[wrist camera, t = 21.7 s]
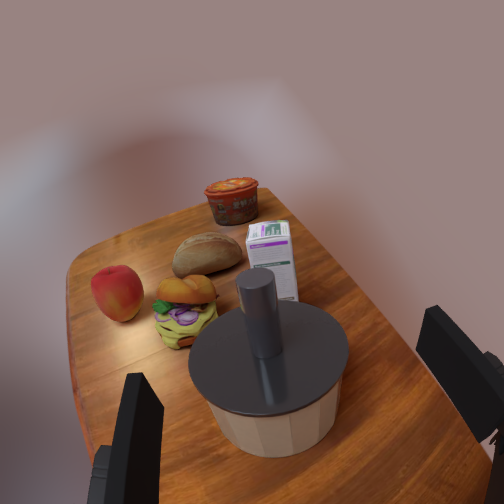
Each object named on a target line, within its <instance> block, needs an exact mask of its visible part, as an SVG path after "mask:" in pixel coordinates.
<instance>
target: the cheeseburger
mask: <svg viewBox="0 0 504 504" xmlns="http://www.w3.org/2000/svg"><path fill="white" fill-rule="evenodd" d="M156 297H157V298H158V299H159V300H156V302H157V303H153V306H152V308H154V311H155V319H156V323H155V328H156V330H157V331H158V332H159V334H160V336H161V338H162V340H163V342H164V344H165V345H167V346H169V347H170V348H172V349H179V348H180V347H179V346H181V347H182V346H186V345H191V344H193V343H194V341H195V339H196V338H197V336H198V335H199V334H200V332H201V331H202V330H203V329H204V328H205V327H206V326H207V325H208V324H209V323H211V322H212V321H213V320H215V319H216V318H218V314H217V311H216V303H215V300H217V299H218V298H219V297H220V295H219V294H218V295H216V290H215V287H214V285H213V283H212V282H211V280H210V279H209V278H207V277H205V276H203V275H190V276H187V277H185V278H184V279H180V278H174V277H172V278H166V279H165V280H163V281H162V282H161V283H160V285H159V287H158V289H157V293H156Z"/></svg>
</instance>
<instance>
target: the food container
mask: <svg viewBox="0 0 504 504" xmlns="http://www.w3.org/2000/svg"><path fill="white" fill-rule="evenodd" d="M257 186H258V182H257V181H256V180H255V179H252V178H248V177H247V178H246V177H243V178H232V179H227V180H226V181H219V182H216V183H213V184H211V186H208V187H207V188H206V190H205V191H204V194H205V195H206V196H207V198H208V201H209V204H210V207H211V209H212V212H213V215H214V218H215V221H216V223H217V224H219V225H223V226H224V225H225V226H229V225H237V224H242V223H245V222H248V221H250V220H253V219H254V218H255V217H256V216H257V215H258V204H257Z"/></svg>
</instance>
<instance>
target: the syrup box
mask: <svg viewBox="0 0 504 504" xmlns="http://www.w3.org/2000/svg"><path fill="white" fill-rule="evenodd" d="M246 246H247V251H248V256H249V261H250V266H251V268H258V267H261V268H267V269H270V270H272V271H273V273H274V274H275V281H276V289H277V296H278V300H289V301H297V302H299V301H298V290H297V279H296V269H295V262H294V255H293V248H292V242H291V235H290V229H289V222H288V220H275V221H267V222H261V223H256V224H252V225H249V230H248V233H247V239H246Z"/></svg>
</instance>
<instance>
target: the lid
mask: <svg viewBox="0 0 504 504" xmlns="http://www.w3.org/2000/svg"><path fill="white" fill-rule="evenodd" d="M235 282H236V287H237V291H238V296H239V301H240V305H241V307H238V308H235V309H233V310H230V311H228V312H226V313H224V314H223V315H221V316H219V317H218V318H216V319H215V320H213V321H212V322H211V323H209V324H208V325H207V326H206V327H205V328H204V329H203V330H202V331H201V332H200V334H199V335H198V336H197V338H196V339H195V341H194V343H193V345H192V347H191V350H190V353H189V360H188V367H189V373H190V377H191V379H192V381H193V383H194V385H195V387H196V389H197V390H198V391H199V393H200V394H201V395H202V396H203V397H204V398H205V399H206V400H207V401H209V402H210V403H211V404H213V405H214V406H216V407H218V408H220V409H222V410H224V411H227V412H229V413H232V414H236V415H240V416H245V417H255V418H266V417H276V416H282V415H287V414H290V413H294V412H297V411H299V410H302V409H304V408H306V407H308V406H310V405H312V404H314V403H315V402H317V401H319V400H320V399H321V398H323V397H324V396H325V395H326V394H328V393H329V392H330V391H331V390H332V389H333V388H334V387H335V385H336V384H337V383H338V381H339V380H340V378H341V377H342V375H343V373H344V371H345V368H346V365H347V362H348V354H349V346H348V340H347V336H346V334H345V332H344V330H343V328H342V327H341V325H340V324H339V323H338V322H337V321H336V319H335V318H333V317H332V316H331V315H330V314H328V313H327V312H325V311H323V310H322V309H320V308H317V307H315V306H312V305H309V304H306V303H302V302H297V301H289V300H278V296H277V289H276V281H275V274H274V273H273V271H272V270H270V269H267V268H261V267H258V268H251V269H247V270H245V271H243V272H241V273H240V274H239V275H238V276H237V277H236V280H235Z"/></svg>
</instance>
